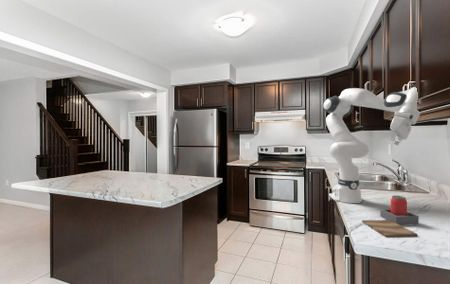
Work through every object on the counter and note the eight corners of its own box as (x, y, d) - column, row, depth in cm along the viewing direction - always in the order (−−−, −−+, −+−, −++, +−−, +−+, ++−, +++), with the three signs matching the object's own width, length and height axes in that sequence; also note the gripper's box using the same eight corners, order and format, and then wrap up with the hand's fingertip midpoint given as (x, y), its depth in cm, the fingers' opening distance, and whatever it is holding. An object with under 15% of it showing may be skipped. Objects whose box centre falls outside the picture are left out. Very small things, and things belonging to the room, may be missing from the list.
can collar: (380, 216, 121) (380, 209, 121) (400, 216, 121) (400, 208, 121) (396, 224, 110) (396, 216, 110) (418, 224, 110) (418, 216, 110)
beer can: (400, 223, 111) (400, 199, 111) (387, 218, 118) (387, 195, 117) (410, 221, 113) (410, 198, 113) (396, 217, 120) (397, 194, 119)
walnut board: (362, 222, 113) (362, 220, 113) (389, 221, 113) (389, 220, 113) (385, 236, 97) (385, 234, 97) (417, 236, 97) (417, 234, 97)
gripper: (403, 122, 126) (392, 145, 127) (394, 110, 113) (381, 135, 114) (417, 125, 121) (405, 149, 123) (409, 113, 108) (395, 139, 109)
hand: (393, 142), depth 118 cm, fingers open, 8 cm apart
